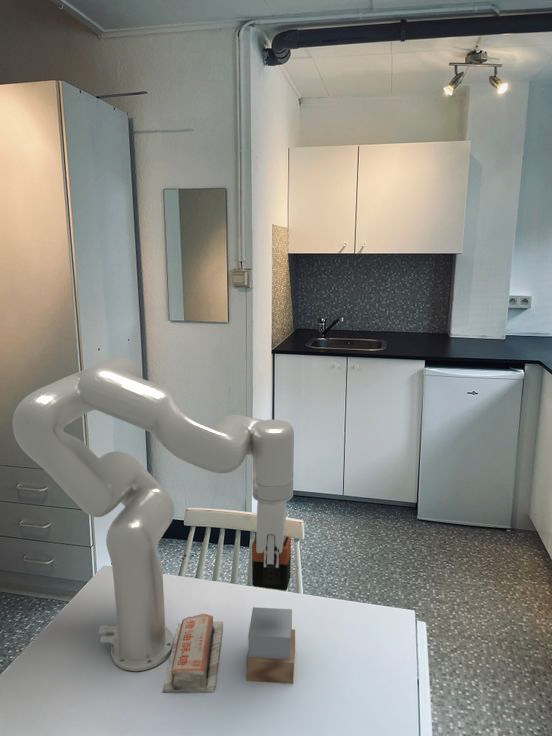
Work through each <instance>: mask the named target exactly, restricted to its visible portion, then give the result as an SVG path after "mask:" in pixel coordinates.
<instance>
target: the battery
mask: <svg viewBox="0 0 552 736" xmlns="http://www.w3.org/2000/svg"><path fill="white" fill-rule="evenodd" d="M256 537H257V534H256V535H255V537H254V539H253V542H252V544H251V562H252V563H251V584H252V586H253V587H256V588H263V589H271V590H279V591H287V590H288V587H289V584H290V580H291V571H292V570H291V561H292V557H291V555H292V554H291V551H292V538H291V536H286V535H284V543H283V550H282V553H280V554H279V565H280V584H279V585H264V584H263V564H264V551H263V553H257V552H256ZM266 549H267V547H266ZM274 549H277V547H274ZM274 558H276V554H274Z"/></svg>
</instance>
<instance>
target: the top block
mask: <svg viewBox="0 0 552 736" xmlns="http://www.w3.org/2000/svg"><path fill="white" fill-rule="evenodd" d="M292 617H293V609H291V608H273V607H257V606H256V607H254V606H253V607H252V611H251V617H250V621H249V629H248V635H247V637H248V639H247V641H248V642H247V645H248V646H247V653H248V658H265V659H282V660H290V651H291V634H292V629H293V628H292V627H293V618H292Z"/></svg>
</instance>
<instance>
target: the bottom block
mask: <svg viewBox="0 0 552 736" xmlns="http://www.w3.org/2000/svg"><path fill="white" fill-rule="evenodd" d="M295 652H296V629H294V628H292V634H291V651H290V660H282V659H265V658H248V652H247V654H246V661H245V662H246V666H245V667H246V671H245V672H246V673H245V674H246V681H247V682H256V683H257V682H259V683H261V682H262V683H274V684H275V683H276V684H291V685H292V684H294V674H295V673H294V672H295V656H296V655H295V654H296V653H295Z"/></svg>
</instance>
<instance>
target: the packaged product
mask: <svg viewBox="0 0 552 736" xmlns="http://www.w3.org/2000/svg"><path fill="white" fill-rule="evenodd" d="M223 632H224V621H214V616H213V615H211V614H207V613H199V614H197V615H193V616H188V617H186V618H183V620H182V621H181V623H179V622H178V623H177V628H176V632H175V636H174V639H173V641H174V644H173V648H172V652H171V653H170V655H169V656H170V657H169V661H168V666H167V671H166V675H165V679H164V683H163V686H162V687H163V688H162V692H163V693H174V694H175V693H176V694H177V693H178V694H179V693H181V694H182V693H183V694H184V693H187V694H188V693H215V690H216V686H217V678H218V677H217V674H218V669H219V663H220V657H221V649H222V641H223V640H222V639H223V634H224V633H223Z"/></svg>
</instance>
